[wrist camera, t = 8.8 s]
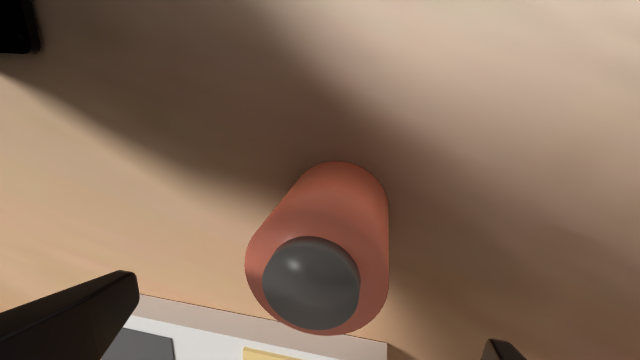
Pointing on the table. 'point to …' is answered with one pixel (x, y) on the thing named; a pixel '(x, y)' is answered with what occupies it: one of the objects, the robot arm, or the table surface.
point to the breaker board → (225, 337)
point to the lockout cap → (324, 252)
